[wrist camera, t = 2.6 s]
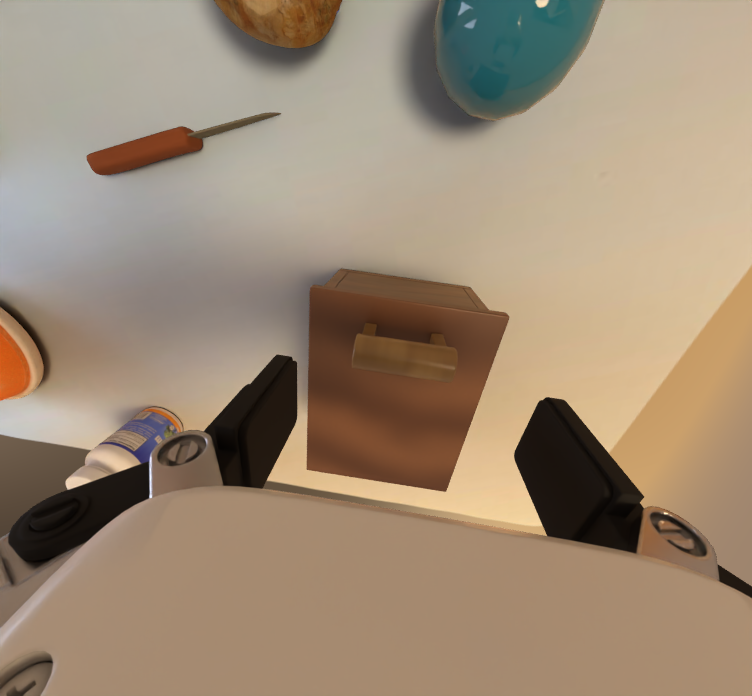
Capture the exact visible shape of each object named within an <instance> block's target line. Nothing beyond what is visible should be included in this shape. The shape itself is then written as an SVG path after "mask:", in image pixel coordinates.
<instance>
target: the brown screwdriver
mask: <svg viewBox="0 0 752 696" xmlns="http://www.w3.org/2000/svg"><path fill="white" fill-rule="evenodd" d="M280 114H281V113H263V114H259V115H255V116H251V117H248V118H244V119H240V120H236V121H233V122H229V123H225V124H222V125H218V126H214V127H211V128H207V129H204V130H200V131H196V132H194V131H193V130H191V129H189V128H186V127H177V128H173V129H170V130H166V131H163V132H160V133H156V134H153V135H150V136H146V137H143V138H140V139H136V140H133V141H130V142H127V143H123V144H120V145H117V146H113V147H110V148H107V149H103V150H100V151H97V152H94V153H91V154H89V155H87V161H88V163H89V165H90V166H91V168H92V170H93V171H94V172H95V173H97V174H99V175H111V174H116V173H120V172H124V171H127V170H131V169H134V168H137V167H141V166H144V165H147V164H151V163H154V162H157V161H160V160H164V159H167V158H170V157H174V156H177V155H181V154H185V153H189V152H194V151H198V150H200V149H201V148H202V144H203V142H202V138H205V137H209V136H212V135H215V134H219V133H222V132H225V131H229V130H232V129H235V128H239V127H242V126H245V125H248V124H252V123H255V122H258V121H261V120H264V119H268V118H271V117H274V116H277V115H280Z"/></svg>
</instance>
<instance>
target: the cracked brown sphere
mask: <svg viewBox="0 0 752 696" xmlns="http://www.w3.org/2000/svg"><path fill="white" fill-rule="evenodd" d="M214 1H215V2H216V4H217V5H218V6H219V8H220V9H221V10H222V11H223V13H224V14H225V15H226V16H227V17H228V18H229V19H230V20H231V21H232V22H233V23H234V24H235V25H236V26H237V27H239V28H240V29H241V30H243V31H244V32H245V33H247V34H248V35H250V36H252V37H254V38H256V39H258V40H260V41H263V42H266V43H268V44H272V45H276V46H281V47H286V48H302V47H307V46H311V45H313V44H315V43H317V42H319V41H320V40H321V39H322V38H324V37H325V36H326V34H327V33H328V32H329V30H330V28H331V26H332V24H333V22H334V19H335V16H336V12H337V11H338V10H339V8H340V4H341V2H342V0H214Z"/></svg>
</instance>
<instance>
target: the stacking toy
mask: <svg viewBox="0 0 752 696" xmlns="http://www.w3.org/2000/svg"><path fill="white" fill-rule="evenodd" d="M43 370H44V367H43V362H42V358H41V355H40V353H39V351H38V349H37V347H36V345H35V343H34V342H33V340H32V339H31V337H30V336H29V335H28V333H27V332H26V331H25V330H24V329H23V327H22V326H21V325H20V324H19V323H18V322H17V321H16V320H15V319H14V318H13V317H12V316H10V315H9V314H8V313H7V312H6V311H5V310H3V309H2V308H1V307H0V401H1V400H4V399H18V398H22V397H25V396H27V395H28V394H30V393H31V392H33V391H34V390H35V389H36V388H37V387H38V385H39V384H40V382H41V380H42V377H43Z"/></svg>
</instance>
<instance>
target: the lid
mask: <svg viewBox="0 0 752 696" xmlns="http://www.w3.org/2000/svg"><path fill="white" fill-rule="evenodd" d="M508 320H509V316H508V315H507V313H504V312H497V311H491V310H484V309H477V308H470V307H463V306H456V305H450V304H443V303H436V302H429V301H422V300H415V299H408V298H402V297H395V296H388V295H381V294H374V293H367V292H361V291H354V290H347V289H340V288H333V287H326V286H320V285H312V286H311V287H310V309H309V367H308V424H307V470H312V471H318V472H324V473H331V474H337V475H343V476H349V477H356V478H362V479H368V480H375V481H381V482H387V483H394V484H400V485H406V486H412V487H419V488H425V489H431V490H438V491H444V492H446V490H447V488H448V485H449V482H450V479H451V477H452V474H453V471H454V468H455V466H456V463H457V460H458V457H459V455H460V452H461V449H462V446H463V444H464V441H465V438H466V435H467V433H468V430H469V427H470V424H471V422H472V419H473V416H474V413H475V411H476V408H477V405H478V402H479V400H480V397H481V394H482V391H483V389H484V386H485V383H486V380H487V378H488V375H489V372H490V369H491V367H492V364H493V361H494V358H495V356H496V353H497V350H498V347H499V345H500V342H501V339H502V336H503V334H504V331H505V328H506V325H507V323H508Z"/></svg>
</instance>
